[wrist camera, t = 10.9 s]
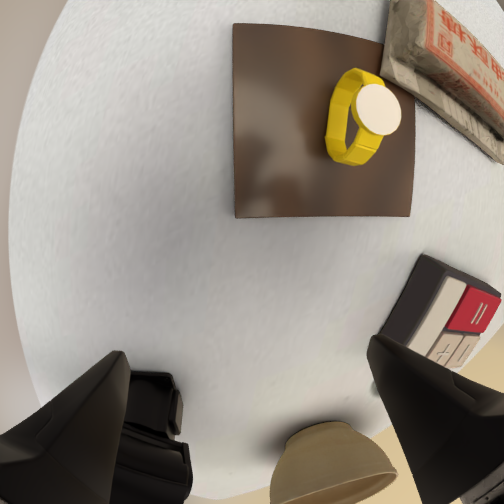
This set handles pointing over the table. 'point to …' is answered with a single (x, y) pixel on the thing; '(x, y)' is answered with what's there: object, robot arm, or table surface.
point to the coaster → (310, 128)
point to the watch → (360, 116)
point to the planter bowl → (330, 467)
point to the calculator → (442, 312)
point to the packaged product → (446, 71)
